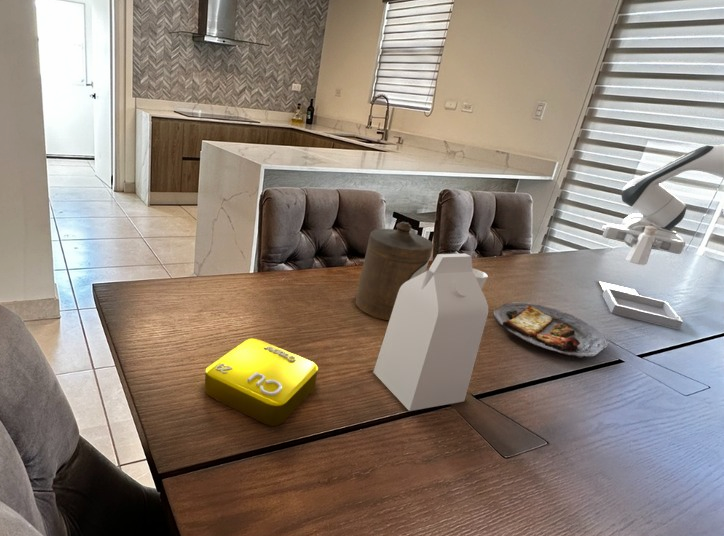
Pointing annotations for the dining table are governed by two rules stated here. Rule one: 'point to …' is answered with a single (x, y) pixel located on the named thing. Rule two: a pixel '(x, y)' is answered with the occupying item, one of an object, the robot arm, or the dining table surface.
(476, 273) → the cup
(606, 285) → the coaster
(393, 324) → the milk
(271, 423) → the element tile
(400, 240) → the wooden container
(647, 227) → the pepper shaker
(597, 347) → the food plate
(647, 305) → the tray
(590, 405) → the dining table surface
